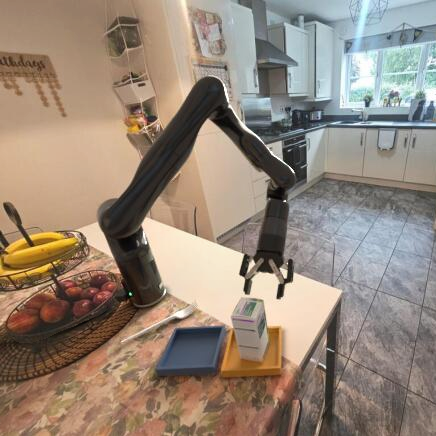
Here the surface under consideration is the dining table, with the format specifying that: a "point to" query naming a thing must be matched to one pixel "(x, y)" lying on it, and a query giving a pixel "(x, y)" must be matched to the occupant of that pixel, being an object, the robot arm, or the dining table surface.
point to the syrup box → (251, 329)
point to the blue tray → (192, 351)
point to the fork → (180, 315)
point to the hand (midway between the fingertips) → (262, 297)
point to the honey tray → (241, 367)
